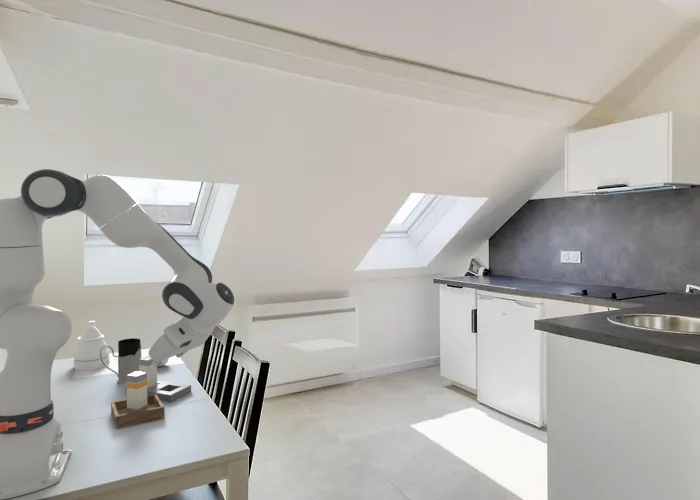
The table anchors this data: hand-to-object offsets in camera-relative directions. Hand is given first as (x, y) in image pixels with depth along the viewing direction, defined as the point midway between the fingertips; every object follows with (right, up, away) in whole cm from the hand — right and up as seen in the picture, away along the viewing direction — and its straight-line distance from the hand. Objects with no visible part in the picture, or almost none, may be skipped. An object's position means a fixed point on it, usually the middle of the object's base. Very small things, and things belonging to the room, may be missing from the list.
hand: (166, 359), depth 132 cm
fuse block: (-12, -17, +23) cm, 31 cm away
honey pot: (-54, -16, +55) cm, 79 cm away
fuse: (-16, -17, +24) cm, 34 cm away
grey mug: (-31, -17, +36) cm, 50 cm away
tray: (-11, -18, +5) cm, 22 cm away
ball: (-25, -16, +54) cm, 62 cm away
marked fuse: (-11, -17, +5) cm, 21 cm away
